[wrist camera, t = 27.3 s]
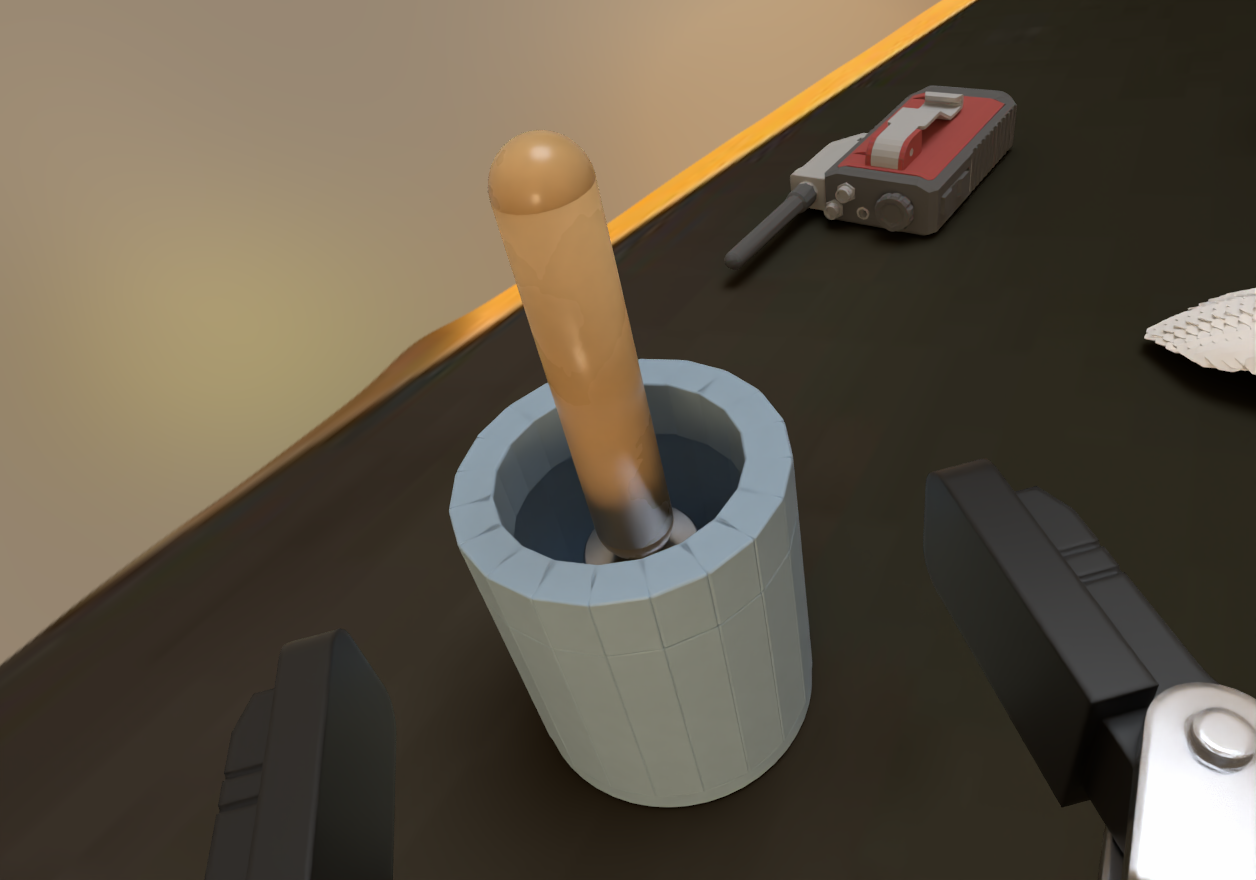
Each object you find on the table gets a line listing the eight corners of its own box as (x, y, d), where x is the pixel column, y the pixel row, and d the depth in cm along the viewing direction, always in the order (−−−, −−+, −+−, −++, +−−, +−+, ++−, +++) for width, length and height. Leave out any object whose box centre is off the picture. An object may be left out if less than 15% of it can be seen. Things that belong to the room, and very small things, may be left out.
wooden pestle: (696, 753, 27) (545, 207, 15) (578, 690, 29) (365, 177, 17) (769, 639, 29) (689, 92, 17) (654, 589, 32) (515, 81, 20)
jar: (724, 865, 25) (667, 664, 18) (491, 726, 30) (380, 526, 23) (858, 628, 30) (851, 401, 23) (640, 541, 35) (583, 333, 28)
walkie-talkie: (888, 121, 57) (714, 282, 47) (888, 51, 54) (703, 207, 44) (1027, 136, 52) (867, 320, 42) (1036, 60, 49) (866, 238, 39)
